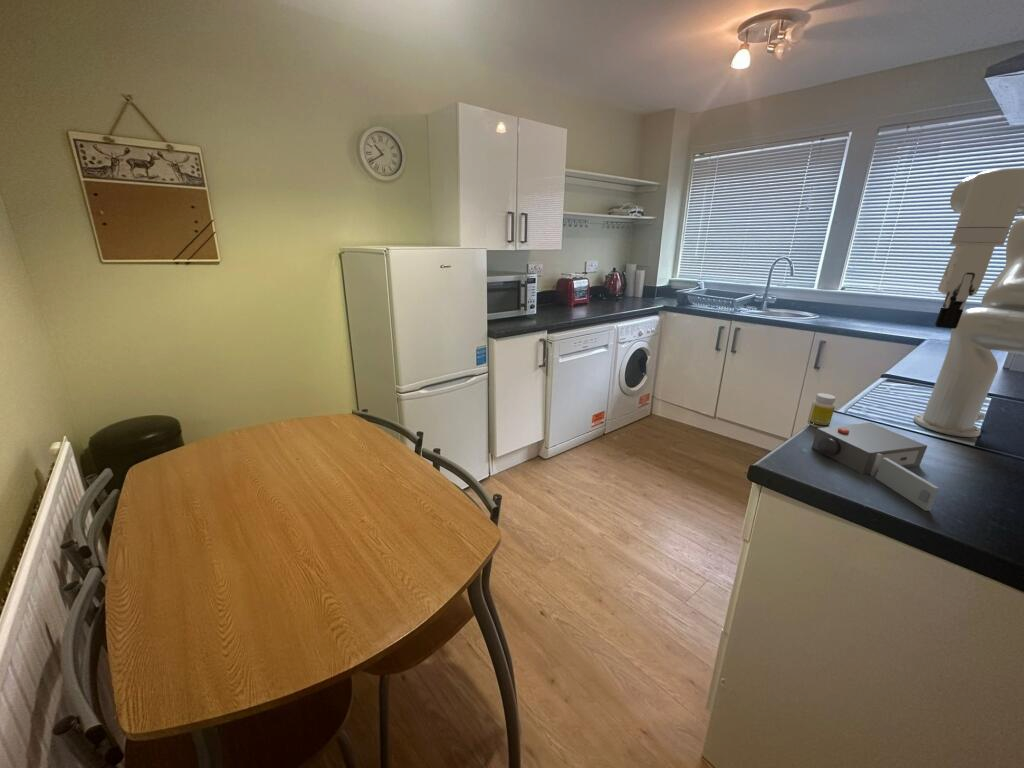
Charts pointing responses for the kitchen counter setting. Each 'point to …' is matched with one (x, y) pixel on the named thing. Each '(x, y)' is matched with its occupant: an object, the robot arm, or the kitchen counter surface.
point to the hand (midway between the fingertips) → (945, 327)
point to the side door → (907, 484)
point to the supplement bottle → (822, 410)
